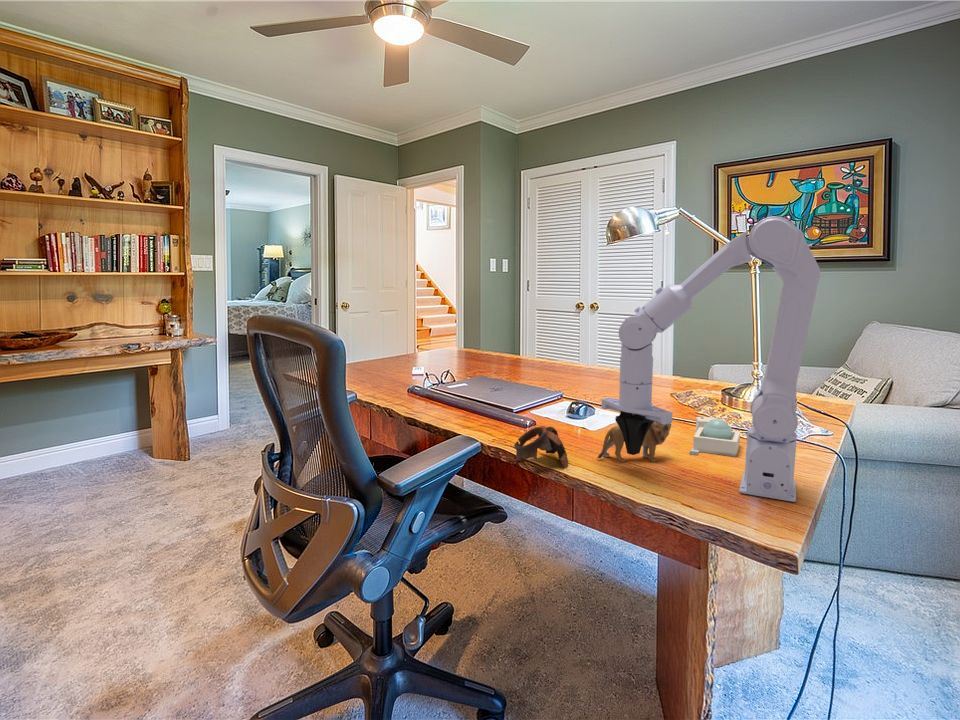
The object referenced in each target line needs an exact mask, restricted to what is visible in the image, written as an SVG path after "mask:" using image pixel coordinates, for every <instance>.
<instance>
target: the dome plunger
mask: <svg viewBox="0 0 960 720" xmlns="http://www.w3.org/2000/svg"><path fill="white" fill-rule="evenodd" d="M731 431H732V426H731V425H729V424H728V422H726V420H724V419H721V418H716V419H713V420H711V421H709V422H708V423H707V424H704V435H703V437H710V438H718V439H726V440H731Z"/></svg>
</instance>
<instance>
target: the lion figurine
mask: <svg viewBox="0 0 960 720" xmlns="http://www.w3.org/2000/svg"><path fill="white" fill-rule="evenodd" d="M671 428H672V423H669V424H661V423H660V422H658V421H654V422H653V423H652V425H651V426H650V428H649V430H648V431H647V433H646V435H645V438H644V440H643V443H642V456H643V457H644V458H649V462H650V461H651V462H653V463H656V462H657V461H658V459H657V458H656V457H655V453H656V449H657V447H656V446H659V445H662V444H663V443H665V441H666V440H667V437H668V436H669V434H670V431H671ZM605 434H606V435H605V436H604V441H603V445H602V449H601V452H600V453H599V454H598V456H597V459H601V458H602V457H605V458H609V457H610V453H609V452H608V450H609V449H611V448H612V447H615V452H614V455H615V456H616V458H617V459H618V462H620V463H626V461H627V460H626V458H625V457H622V455H621V453H622V450H623V447H624V445H625V441H624V438H623V434H622V432H621V430H620V427H619V425H615V426H612V427H611V428H610V429H608V431H607V433H605ZM608 439H609V440H608ZM607 441H608V442H607Z"/></svg>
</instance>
